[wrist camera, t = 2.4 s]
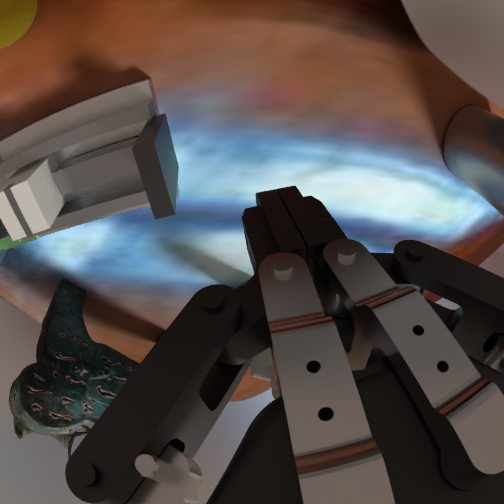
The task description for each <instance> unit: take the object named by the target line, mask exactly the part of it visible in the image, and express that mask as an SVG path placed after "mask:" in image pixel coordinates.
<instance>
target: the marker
mask: <svg viewBox="0 0 504 504" xmlns="http://www.w3.org/2000/svg"><path fill="white" fill-rule="evenodd" d="M57 167H58V164H57V161H56V159H55V156H54V153H52V154H50V155H47V156H45V157H43V158H40V159H38V160H36V161H34V162H32V163H29V164H27V165H25V166H23V167H21V168H19V169H18V170H17V171H16V172H14V173H13V174H12V175H11V176H10V177H9V178H8V179H7V180H6V181H5V183H4V184H3V185H2V186H1V187H0V218H1V220H2V222H3V224H4V226H5V228H6V229H7V231H8V233H9V235H10V236H11V238H12V240H13V241H15V240H17V239H20V238H23V237H26V236H27V237H29V236H32V235H33V234H34V233H37V232H40V231H43V230H46V229H49V228H50V227H51V225H52V224H53V222H54V220H55V218H56V217H57V215H58V213H59V212H60V210H61V209H62V207H63V205H64V204H65V202H66V201H67V199H68V197H69V196H70V193H69V194H66V195H63V196H61V194H60V192H59V190H58V187H57V185H56V183H55V180H54V178H53V175H52V173H53V172H54V170H55V169H56V168H57Z"/></svg>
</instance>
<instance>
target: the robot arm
mask: <svg viewBox="0 0 504 504" xmlns="http://www.w3.org/2000/svg"><path fill="white" fill-rule="evenodd" d="M443 151H444V159H445V163H446V165H447V167H448V169H449V170H450V171H451V173H452V174H454V175H455V176H456V177H458V178H459V179H460V180H462V181H463V182H464V183H466V184H467V185H468V186H469V187H471V188H472V189H473V190H474V191H475V192H477V193H478V194H479V195H480V196H482V197H483V198H484V199H485V200H486V201H487V202H489V203H490V204H491V205H492V206H493V207H494V208H496V209H497V210H498V211H499V212H500V213H501V214H502V215H503V216H504V118H502V117H500V116H498V115H496V114H494V113H492V112H490V111H487V110H485V109H483V108H481V107H479V106H476V105H470V106H466V107H464V108H462V109H461V110H460V111H459V112H458V113H457V114H456V115H455V116H454V118H453V119H452V121H451V123H450V124H449V126H448V129H447V132H446V135H445V140H444V150H443ZM256 204H257V206H256V207H251V208H246V209H245V210H244V213H243V216H242V221H243V227H244V233H245V239H246V245H247V250H248V253H249V257H250V260H251V264H252V267H253V271H254V275H253V277H252V278H251V279H250V280H249V281H248V282H247V283H245V284H244V285H242V286H240V287H238V288H236V289H233V288H231V287H229V286H227V285H220V284H217V285H210V286H207V287H205V288H202V289H201V290H199V291H198V292H197V293H195V295H194V296H193V297H192V298H191V299H190V301H189V302H188V303H187V304H186V306H185V307H184V308H183V309H182V311H181V312H180V313H179V315H178V316H177V317H176V318H175V320H174V321H173V322H172V323H171V325H170V326H169V327H168V329H167V330H166V331H165V332H164V334H163V335H162V336H161V338H160V339H159V340H158V341H157V343H156V344H155V345H154V347H153V348H152V349H151V350H150V352H149V353H148V354H147V356H146V357H145V358H144V360H143V361H142V362H141V363H140V365H139V366H138V367H137V369H136V370H135V371H134V373H133V374H132V375H131V377H130V378H129V379H128V380H127V382H126V383H125V384H124V386H123V387H122V388H121V390H120V391H119V392H118V394H117V395H116V396H115V398H114V399H113V400H112V402H111V403H110V404H109V406H108V407H107V408H106V410H105V411H104V412H103V413H102V415H101V416H100V418H99V419H98V420H97V422H96V423H95V424H94V426H93V427H92V428H91V430H90V431H89V432H88V434H87V435H86V436H85V438H84V439H83V440H82V442H81V443H80V445H79V446H78V447H77V449H76V450H75V451H74V453H73V454H72V455H71V457H70V458H69V460H68V462H67V465H66V471H65V475H66V481H67V484H68V486H69V488H70V490H71V491H72V492H73V494H74V495H75V496H76V497H78V498H79V499H81V500H82V501H85V502H88V503H92V504H197V495H198V491H199V489H200V487H201V484H202V472H201V469H200V468H199V466H198V464H197V463H196V462H195V461H194V460H193V459H192V458H193V457H194V455H195V454H196V452H197V451H198V449H199V448H200V446H201V444H202V443H203V441H204V440H205V438H206V436H207V435H208V433H209V432H210V430H211V429H212V427H213V426H214V424H215V422H216V421H217V419H218V418H219V416H220V414H221V413H222V411H223V409H224V408H225V406H226V404H227V403H228V401H229V400H230V398H231V396H232V395H233V393H234V391H235V390H236V388H237V386H238V385H239V383H240V381H241V380H242V378H243V376H244V374H245V373H246V371H247V369H248V368H249V366H250V364H251V362H252V359H253V357H254V356H256V355H258V354H260V353H261V352H263V351H265V350H267V349H268V348H271V353H272V359H273V364H274V370H275V375H276V381H277V387H278V393H279V397H278V398H277V399H275V400H274V401H272V402H271V403H269V404H268V405H267V406H266V407H265V408H264V409H263V410H262V411H261V412H260V413H259V414H258V415H257V416H256V417H255V419H254V420H253V422H252V423H251V425H250V426H249V428H248V430H247V432H246V434H245V436H244V438H243V439H242V441H241V443H240V445H239V447H238V449H237V451H236V452H235V454H234V456H233V458H232V460H231V461H230V463H229V465H228V467H227V469H226V471H225V472H224V474H223V476H222V478H221V479H220V481H219V483H218V485H217V486H216V488H215V490H214V491H213V493H212V495H211V496H210V498H209V500H208V501H207V503H206V504H504V278H502V277H500V276H498V275H496V274H494V273H491V272H489V271H487V270H485V269H483V268H481V267H478V266H476V265H474V264H472V263H469V262H467V261H465V260H463V259H460V258H458V257H456V256H453V255H451V254H449V253H446V252H444V251H442V250H439V249H437V248H434V247H432V246H429V245H427V244H425V243H422V242H419V241H416V240H403V241H401V242H399V243H397V244H396V246H395V248H394V252H393V253H371V252H369V251H368V250H367V249H366V247H365V246H364V245H362V244H361V243H359V242H357V241H355V240H351V239H348V238H347V237H346V235H345V234H344V232H343V231H342V230H341V228H340V227H339V225H338V224H337V223H336V221H335V220H334V218H333V217H332V216H331V214H330V213H329V212H328V211H327V209H326V207H325V206H324V205H323V203H322V202H321V201H319V200H318V199H316V198H314V197H312V196H307V197H303V196H302V195H301V193H300V192H299V190H298V189H297V187H296V186H290V187H285V188H279V189H276V190H275V189H274V190H269V191H264V192H259V193H256ZM425 290H428V291H430V292H432V293H434V294H437V295H439V296H441V297H443V298H445V299H448V300H450V301H452V302H454V303H456V304H458V305H460V307H459V308H458V309H456V310H450V309H448V308H445V307H443V306H441V305H439V304H436V303H434V302H432V301H430V300H428V299H426V298H424V297H423V293H424V291H425Z"/></svg>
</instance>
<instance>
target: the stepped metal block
mask: <svg viewBox="0 0 504 504" xmlns="http://www.w3.org/2000/svg"><path fill="white" fill-rule="evenodd" d="M178 170H179V166H178V162H177V158H176V154H175V150H174V146H173V142H172V138H171V134H170V130H169V126H168V122H167V118H166V114H161V115H158V116H154V117H152V119H150V120H148V121H147V123H146V124H145V126H144V128H143V130H142V131H141V133H140V135H139V137H136V138H133V139H129V140H126V141H123V142H119V143H116V144H113V145H110V146H107V147H104V148H101V149H98V150H95V151H92V152H89V153H87V154H84V155H81V156H78V157H76V158H73V159H70V160H68V161H65V162H63V163H61V164H60V165H59V166H58V167H57V168H56V169H55V170H54V172H53V173H52V175H53V178H54V180H55V183H56V185H57V187H58V190H59V192H60V194H61V196H63V195H66V194H69V193H72V192H75V191H78V190H81V189H84V188H87V187H90V186H93V185H96V184H99V183H102V182H106V181H109V180H112V179H115V178H119V177H122V176H126V175H129V174H132V173H136V172H139V173H140V176H141V179H142V182H143V185H144V188H145V191H146V194H147V197H148V200H149V203H150V206H151V209H152V211H153V214H154V217H155V219H158V218H162V217H166V216H171V215H175V209H176V195H177V182H178Z"/></svg>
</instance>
